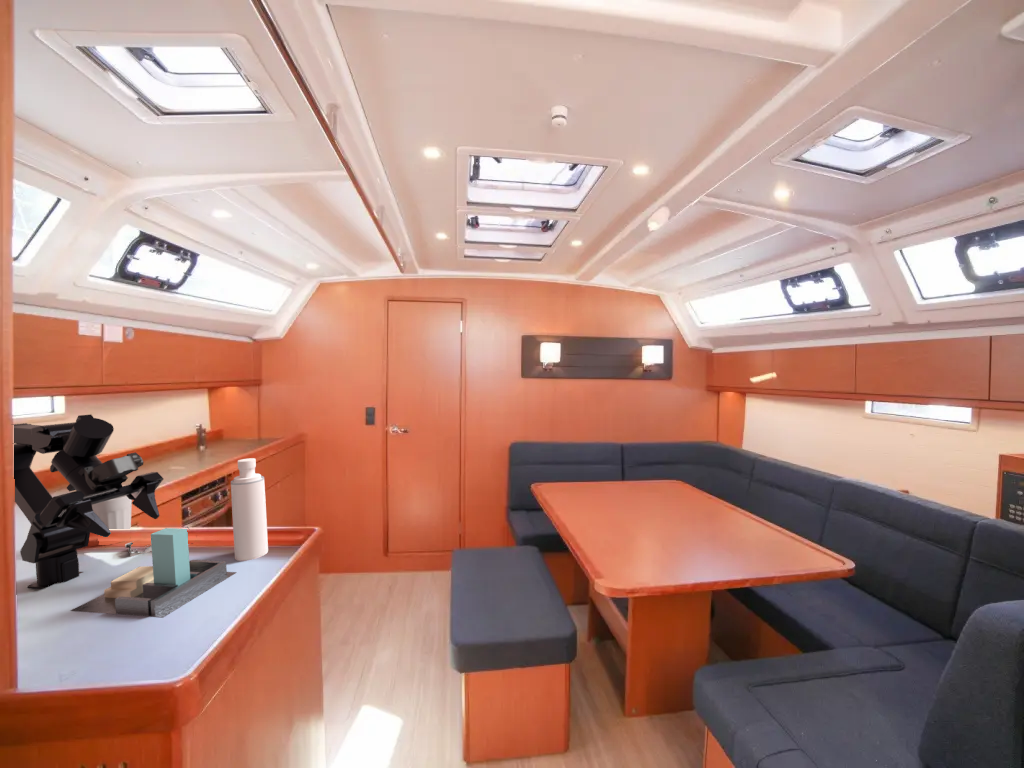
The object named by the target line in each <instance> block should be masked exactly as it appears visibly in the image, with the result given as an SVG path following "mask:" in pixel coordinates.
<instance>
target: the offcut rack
mask: <svg viewBox="0 0 1024 768" xmlns="http://www.w3.org/2000/svg"><path fill="white" fill-rule="evenodd" d="M189 565H190V580H188V581H186V582H185V583H183V584H181V585H179V586H178V585H176V584H159V583H145V584H143V593H141V594H139V595H138V596H136V597H118V598H107V597H105V594H104V593H103V594H102V595H100V596H97V597H95V598H93V599H91V600H89V601H87V602H85V603H82V604H80V605H79V606H76V607H75V608H73V609H70V610H69V611H70V612H79V613H80V612H83V613H92V614H93V613H95V614H97V613H98V614H109V615H124V616H137V617H150V618H151V617H152V618H165V617H167V616H168V615H170V614H171V613H173V612H175V611H176V610H178V609H180V608H181V607H183V606H184V605H186V604H188V603H189V602H191V601H193V600H194V599H196V598H198V597H199V596H202V595H203V594H204V593H206V592H208V591H209V590H211V589H213V588H214V587H215V586H217V585H219V584H220V583H222V582H224V581H225V580H227V579H229V578H230V577H232V576H233V575H236V574H238V573H237V571H228V570H227V561H226V560H223V561H221V560H207V559H205V560H204V559H191V560H189Z"/></svg>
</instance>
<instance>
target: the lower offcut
mask: <svg viewBox="0 0 1024 768" xmlns="http://www.w3.org/2000/svg"><path fill="white" fill-rule="evenodd" d="M147 583H154V579H152V580H150V581H149V582H147ZM103 591H104V593H103V594H105V597H107V598H118V597H136V596H138V595H139V594H141V593H143V585H142V586H140V587H138V588H136V589H111V586H109V587H107V588H105V589H104V590H103Z"/></svg>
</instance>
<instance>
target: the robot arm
mask: <svg viewBox="0 0 1024 768" xmlns="http://www.w3.org/2000/svg"><path fill="white" fill-rule="evenodd" d="M12 425H14V443H13V444H14V479H15V501H14V502H15V503H16V505H17V507H18V508H19V509H20V511H21V512H22V513H23V515H24V516H25V518H26V519H27V520H28V522H29V523H30V527H29V529H28V533H27V536H26V539H25V541H24V543H23V545H22V547H21V549H20V551H19V553H20V557H21V559H22V561H23V562H27V563H29V564H30V563H31V564H35V573H36V582H33V583H31V584H29V585H27V589H36V590H45V589H46V588H49V587H52V586H54V585H57V584H61V583H66V582H68V581H71V580H74V579H75V578H78V577H80V574H82V573H84V571H80V564H79V558H78V550H79V549H82V548H86V547H89V544H90V543H89V542H90V536H91V534H93V535H96V536H97V535H100V536H103V537H108V536H109V535H110V534H111V532H110V530H109V529H108V527H107V526H106V525H105V524H104V523H103V521H102V520H101V519H100V518H99V517H98V516H97V515H96V514H95V512H94V511H93V509H92V505H93V504H96V503H101V502H104V501H108V500H111V499H115V498H118V497H122V496H125V495H126V496H127V497H128V498H129V499H131V500H132V506H135V507H136V508H137V509H139V510H140V511H142V512H143V513H144V514H146V515H147V516H148V517H150V518H152V519H153V520H157V519H158V518H159V517H160V513H159V508H158V504H157V500H156V495H155V493H156V490H157V488H158V487H159V486H160V484H161V483H162V482H163V481H164V478H163V476H162V475H161V474H160V473H159V472H158V471H151V472H146V473H143V474H140V475H135V478H134V479H133V480H132V482H131V483H130V484H126V485H123V483H125V482H126V481H127V480H128V478H129V477H128V476H127V475H129V474H131V473H133V472H137V471H138V470H139V468H140V467H142V466H144V463H145V462H144V460H143V458H142V456H140V455H139V454H138V453H137V452H136V451H135V452H130V453H127V454H126V455H124V456H122V457H116V458H111V459H109V460H107V461H104V462H102V460H100V459H99V458H98V455H100V454H101V453H103V450H104V449H105V447H106V445H107V443H108V441H109V440H110V438H111V436H112V434H113V433H114V429H115V428H114V426H113V424H112V423H110V422H108V421H107V420H104V419H101V418H96V417H94V416H93V414H92V413H90V414H81V415H79V414H78V415H77V418H76V420H75V422H67V423H66V422H65V423H55V424H45V425H40V424H31V423H27V422H25V423H14V424H12ZM36 453H40V454H43V455H45V454H51V453H55V454H54V456H53V458H52V459H51V462H50V463H51V464H50V467H49V471H50V473H56V472H59V473H60V474H61V475H62V476H63V478H64V479H66V481H67V482H68V483H69V484H68V485H67V486H66V489H67V490H68V491H69V493H68V492H66V493H63V494H59V495H55V496H52V495H51V493H50V492H49V490H48V489H47V488H46V487H45V485H44V484H43V483H42V481H41V480H40V479H39V478H38V476H37V475H36V473H34V471H33V469H32V468H31V467H32V464H33V462H34V461H33V460H34V458H35V456H36Z"/></svg>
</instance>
